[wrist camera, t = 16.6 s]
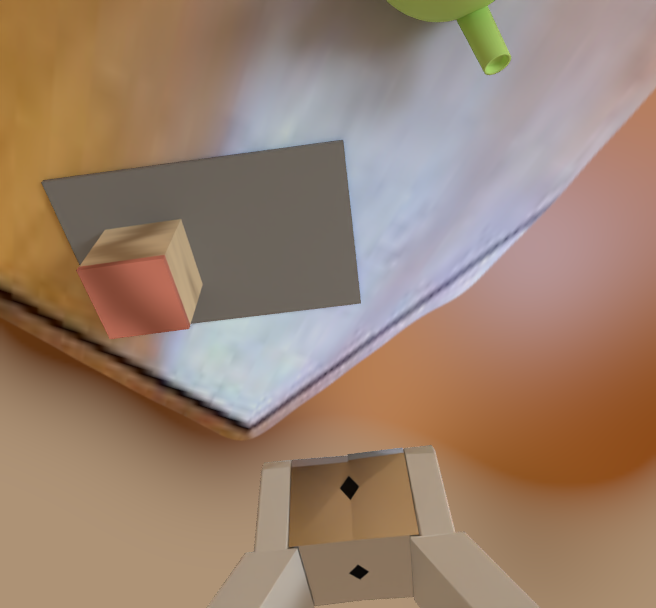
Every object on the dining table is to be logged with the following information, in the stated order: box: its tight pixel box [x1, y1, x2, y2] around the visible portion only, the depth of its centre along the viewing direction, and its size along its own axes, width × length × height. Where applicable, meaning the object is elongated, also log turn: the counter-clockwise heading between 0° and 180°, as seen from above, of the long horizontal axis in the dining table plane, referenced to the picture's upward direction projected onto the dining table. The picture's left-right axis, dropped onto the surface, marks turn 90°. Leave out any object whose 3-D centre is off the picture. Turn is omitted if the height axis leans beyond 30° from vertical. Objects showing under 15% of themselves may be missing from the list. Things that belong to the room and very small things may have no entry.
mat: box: [41, 140, 361, 324], centre depth 41 cm, size 22×14×1 cm, turn 97°
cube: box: [76, 219, 203, 339], centre depth 39 cm, size 6×6×6 cm
